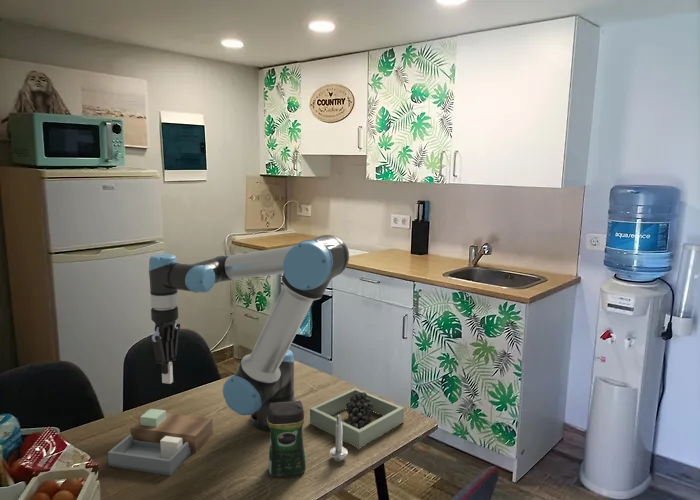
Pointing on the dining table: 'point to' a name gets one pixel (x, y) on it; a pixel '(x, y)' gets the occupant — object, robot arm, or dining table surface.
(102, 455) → the dining table surface
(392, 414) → the fruit crate
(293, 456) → the coffee jar
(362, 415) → the fruit
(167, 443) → the cream tile
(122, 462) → the tray
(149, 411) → the sage tile
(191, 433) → the walnut riser
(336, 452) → the screw
